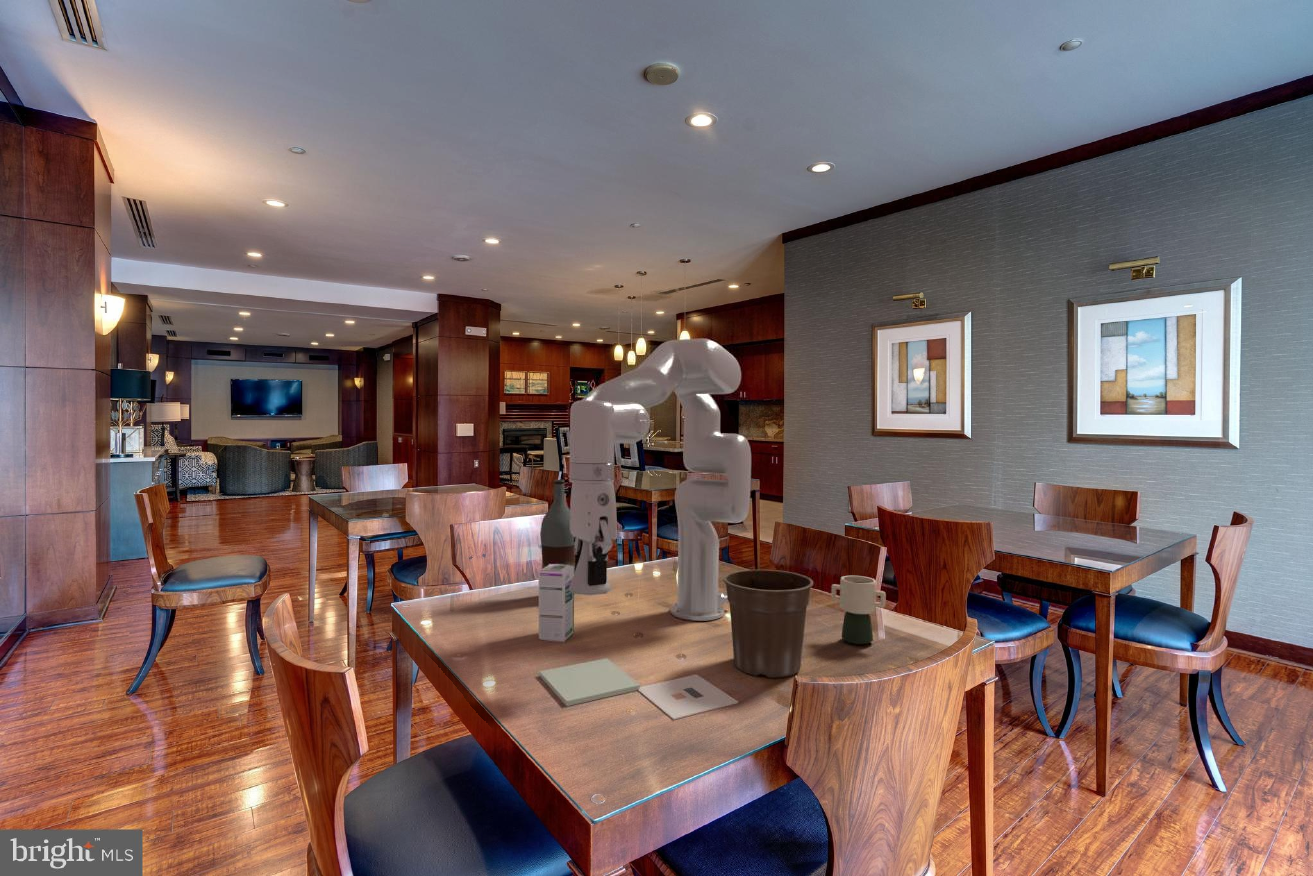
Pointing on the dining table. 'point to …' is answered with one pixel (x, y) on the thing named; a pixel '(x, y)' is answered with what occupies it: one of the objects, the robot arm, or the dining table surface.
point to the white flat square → (686, 696)
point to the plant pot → (768, 620)
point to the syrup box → (556, 602)
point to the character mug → (858, 606)
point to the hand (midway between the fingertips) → (590, 579)
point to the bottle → (557, 531)
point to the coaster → (588, 681)
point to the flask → (586, 576)
